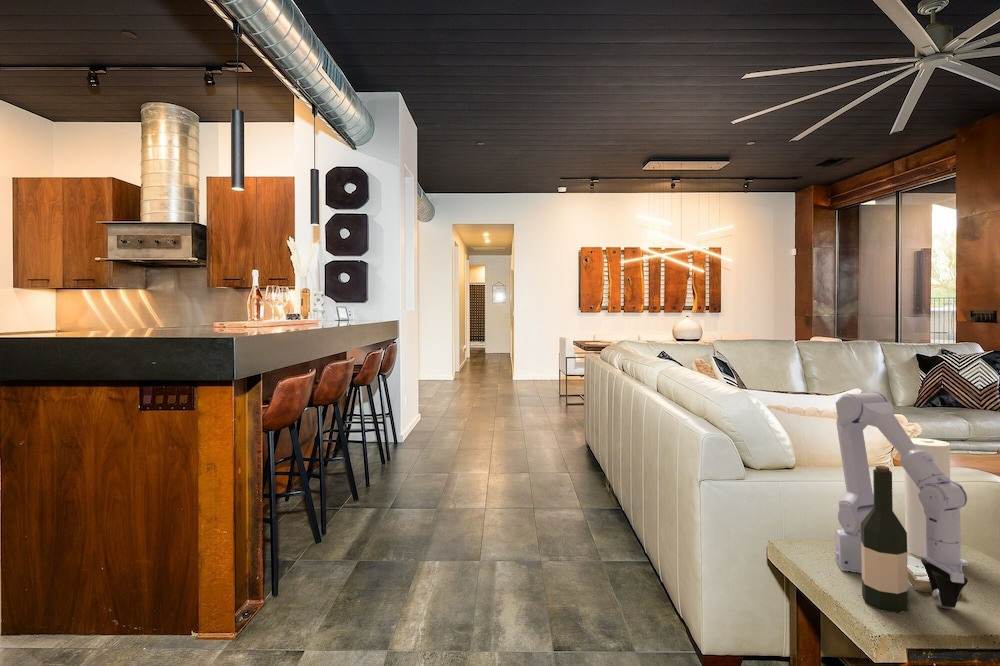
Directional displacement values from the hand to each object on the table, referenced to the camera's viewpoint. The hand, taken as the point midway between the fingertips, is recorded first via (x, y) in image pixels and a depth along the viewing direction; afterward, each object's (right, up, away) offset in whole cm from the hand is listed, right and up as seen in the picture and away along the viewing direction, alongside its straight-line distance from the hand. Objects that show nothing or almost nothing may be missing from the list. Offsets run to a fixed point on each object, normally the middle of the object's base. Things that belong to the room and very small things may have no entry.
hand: (943, 600), depth 114 cm
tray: (+5, -1, +9) cm, 11 cm away
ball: (0, +1, 0) cm, 1 cm away
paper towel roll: (+18, -1, +26) cm, 32 cm away
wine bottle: (-11, -2, +2) cm, 11 cm away
